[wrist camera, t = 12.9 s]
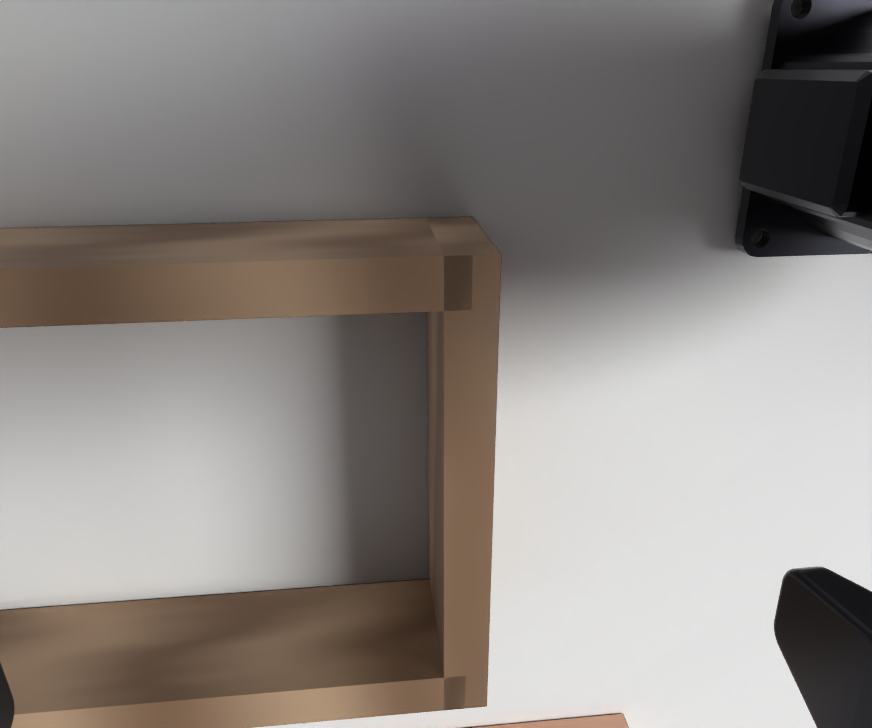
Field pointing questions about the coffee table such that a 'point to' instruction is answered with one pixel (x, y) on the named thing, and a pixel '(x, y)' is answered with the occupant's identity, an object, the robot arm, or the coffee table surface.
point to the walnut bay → (294, 608)
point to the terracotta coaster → (573, 723)
